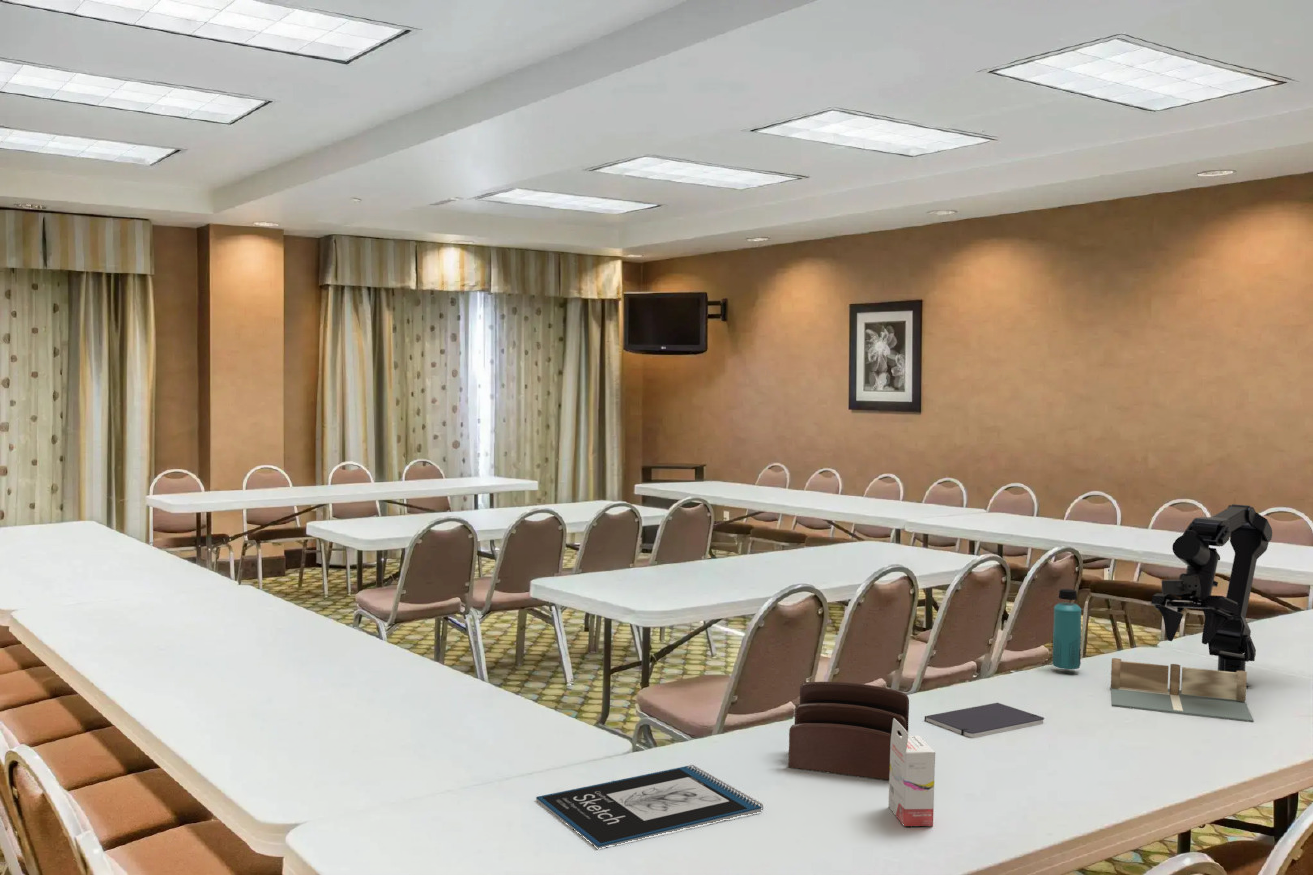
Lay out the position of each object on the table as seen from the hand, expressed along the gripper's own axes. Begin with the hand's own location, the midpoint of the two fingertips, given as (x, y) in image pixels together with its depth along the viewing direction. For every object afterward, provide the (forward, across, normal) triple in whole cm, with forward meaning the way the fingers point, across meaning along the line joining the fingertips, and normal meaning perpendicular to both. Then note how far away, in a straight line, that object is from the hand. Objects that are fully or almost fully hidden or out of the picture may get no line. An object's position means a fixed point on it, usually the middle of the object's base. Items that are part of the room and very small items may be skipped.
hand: (1186, 642), depth 240 cm
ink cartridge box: (+52, +31, -81) cm, 101 cm away
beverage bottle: (+10, -32, -2) cm, 33 cm away
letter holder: (+47, +8, -79) cm, 92 cm away
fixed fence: (+12, -11, +3) cm, 17 cm away
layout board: (+12, -3, +5) cm, 14 cm away
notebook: (+31, -6, -42) cm, 52 cm away
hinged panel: (+9, -2, +12) cm, 15 cm away
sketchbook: (+63, +13, -116) cm, 133 cm away
